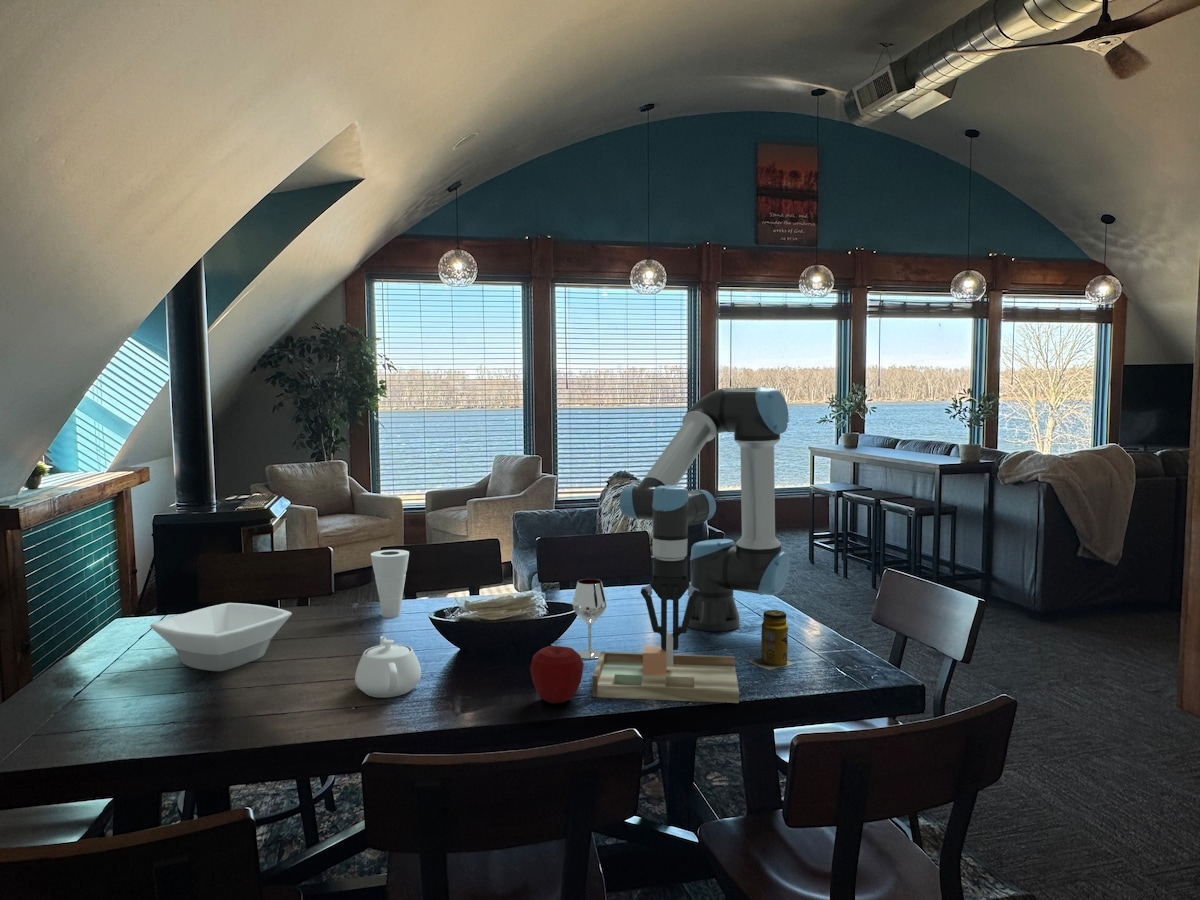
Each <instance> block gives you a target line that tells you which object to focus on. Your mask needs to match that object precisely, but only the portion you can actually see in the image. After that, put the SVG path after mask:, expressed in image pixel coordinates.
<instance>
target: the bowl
mask: <svg viewBox="0 0 1200 900" xmlns="http://www.w3.org/2000/svg"><path fill="white" fill-rule="evenodd" d="M291 616H292V611H289V610H286V609H282V608H277V607H273V606H268V605H262V604H254V603H253V604H251V603H241V602H240V603H239V602H226V603H220V604H215V605H212V606H210V605H209V606H207V607H203V608H199V609H195V610H192V611H188V612H186V613H181V614H178V615H175V616H171V617H166V618H163V619H161V620H158V621H155V622H153V623H151V624H150V625H149V626H150V628H151V629H152V630H153V631H154V632H155V633H157V635H158V636H160V637H161V638H162V639H163V640H164V641H166V642H167V643H168V644H169V645H170V646H171V647H173V648H174V649H175V652H176V653H177V655H178V657H179V660H181V663H182V664H183V665H185V666H187V667H189V668H193V669H197V670H203V671H209V672H210V671H211V672H224V671H228V670H231V669H234V668H237V667H240V666H242V665H246V664H248V663H250V662H253V661H256V660H259V659H260V658H262V657H263V656H264V655H265V653H266V652H267V650H268V647H269V644H270V642H271V640H272V638H273V637H274V636H275V635H276V633H277V632H278V631H279V630H280V629H281V628H282V626H284V624H286V622H287V621H288V619H289V618H290V617H291Z"/></svg>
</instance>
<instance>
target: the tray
mask: <svg viewBox="0 0 1200 900" xmlns="http://www.w3.org/2000/svg"><path fill="white" fill-rule="evenodd" d="M600 652H601V653H600V656H599V658H597V659H598V660H597V662H596V665H595V668H594V671H593V673H592V698H605V699H627V700H628V699H635V700H654V701H656V700H657V701H658V700H659V701H676V702H677V701H679V702H682V701H683V702H703V703H705V702H706V703H711V702H712V703H725V702H726V703H731V704H739V703H740V690H739V689H740V688H739V683H738V682H739V681H738V677H737V672H736V670H737V669H736V656H734V655H713V654H712V655H710V654H709V655H707V654H681V653H679V654H678V653H677V654H676V653H673V666H667V669H666V674H643V652H627V651H625V652H624V651H623V652H619V651H615V652H614V651H600Z"/></svg>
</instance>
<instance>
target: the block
mask: <svg viewBox="0 0 1200 900" xmlns="http://www.w3.org/2000/svg"><path fill="white" fill-rule="evenodd" d="M642 653H643V674H666V669H667V666H666V650H662V648H661V646H659V645H658V646H654V645H653V646H651V645H643V651H642Z"/></svg>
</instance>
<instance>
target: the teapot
mask: <svg viewBox="0 0 1200 900" xmlns="http://www.w3.org/2000/svg"><path fill="white" fill-rule="evenodd" d="M379 639H380V640H379V644H378V645H375V646H372V647H369V648H367V649H366V650H364V652H362V655H361V657H360V660H359V662H358V665H357V667H356V671H355V675H354V677H355V678H354V683H355V685H356V686H357V688H358V689H359V690H360V691H361V692H363V693H364V694H365V695H366V696H369V697H372V698H394V697H398V696H402V695H405V694H407V693H409V692H411V691H412V690H413V689H414V688H415V687H416V686H417V685H418V683H420V681H421V679H422V667H421V664H420V661H419V659H418V657H417V655H416V654H415V651H414V649H413V647H411V646H409V645H406V644H402V643H395V641H394V640H393V639H387V638H386V636H385V635H381V636H380V637H379Z"/></svg>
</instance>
